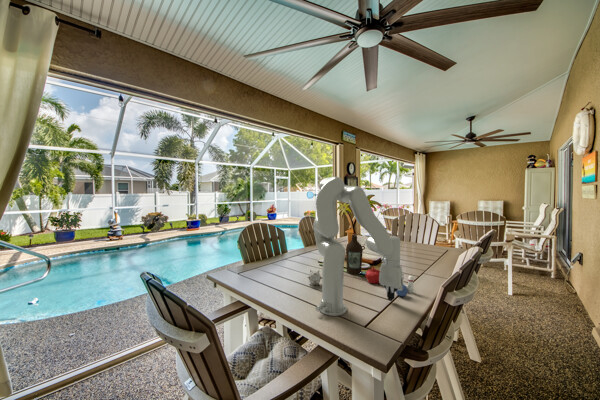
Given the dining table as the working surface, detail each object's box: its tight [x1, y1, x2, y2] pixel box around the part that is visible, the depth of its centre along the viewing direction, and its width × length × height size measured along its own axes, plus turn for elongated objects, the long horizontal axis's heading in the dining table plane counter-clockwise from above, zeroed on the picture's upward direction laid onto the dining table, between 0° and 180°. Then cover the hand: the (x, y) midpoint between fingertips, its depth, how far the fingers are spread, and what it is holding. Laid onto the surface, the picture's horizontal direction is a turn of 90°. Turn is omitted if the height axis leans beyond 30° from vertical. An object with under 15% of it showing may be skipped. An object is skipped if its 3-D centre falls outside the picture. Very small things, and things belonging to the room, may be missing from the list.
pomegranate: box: [365, 265, 380, 284], centre depth 140 cm, size 10×10×9 cm
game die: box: [307, 269, 322, 286], centre depth 136 cm, size 9×8×10 cm
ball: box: [395, 284, 409, 297], centre depth 122 cm, size 6×6×6 cm
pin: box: [407, 275, 414, 294], centre depth 126 cm, size 2×2×8 cm
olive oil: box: [345, 233, 363, 276], centre depth 155 cm, size 11×11×25 cm
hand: (390, 299), depth 115 cm, fingers closed
